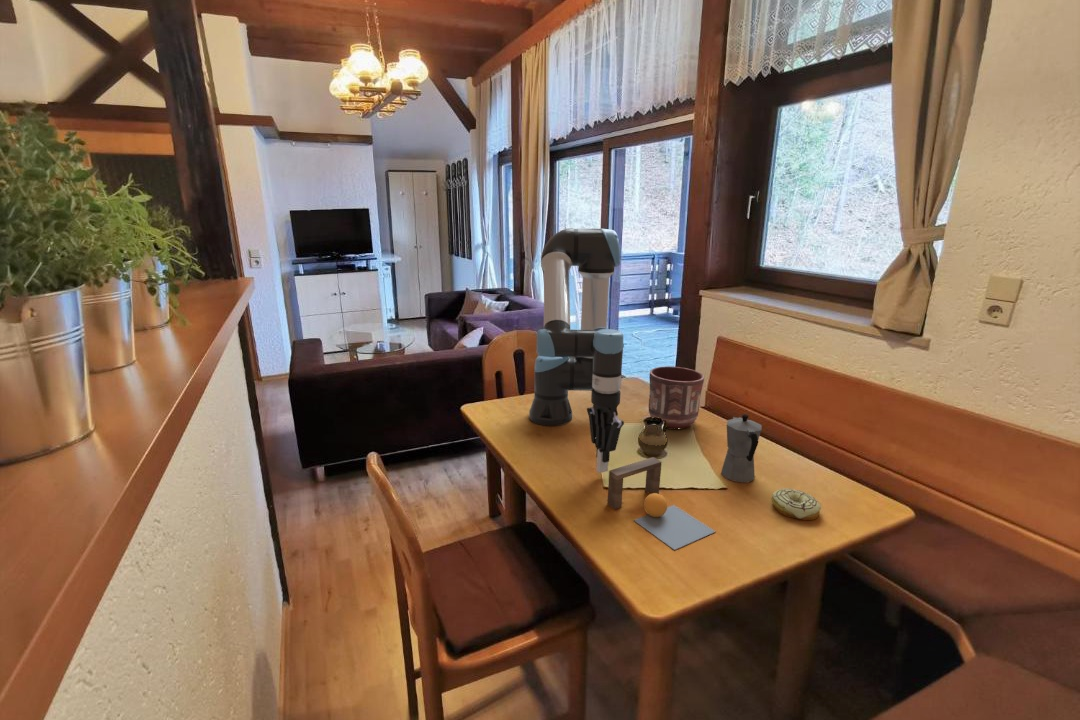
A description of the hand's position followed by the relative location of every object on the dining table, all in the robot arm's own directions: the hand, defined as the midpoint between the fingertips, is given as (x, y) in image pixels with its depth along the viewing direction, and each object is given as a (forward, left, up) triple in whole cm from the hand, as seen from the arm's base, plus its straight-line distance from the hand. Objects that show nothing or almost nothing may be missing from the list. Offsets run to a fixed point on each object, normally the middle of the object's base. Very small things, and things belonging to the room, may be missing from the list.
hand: (602, 470), depth 143 cm
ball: (+21, -1, +1) cm, 21 cm away
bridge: (+13, 0, -2) cm, 13 cm away
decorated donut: (+37, +31, -2) cm, 48 cm away
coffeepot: (+19, +33, -2) cm, 38 cm away
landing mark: (+27, 0, -2) cm, 27 cm away
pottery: (-18, +45, -2) cm, 49 cm away
